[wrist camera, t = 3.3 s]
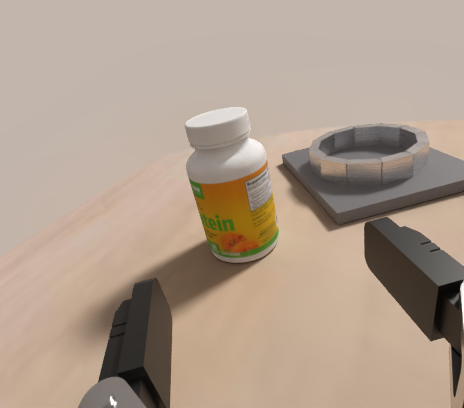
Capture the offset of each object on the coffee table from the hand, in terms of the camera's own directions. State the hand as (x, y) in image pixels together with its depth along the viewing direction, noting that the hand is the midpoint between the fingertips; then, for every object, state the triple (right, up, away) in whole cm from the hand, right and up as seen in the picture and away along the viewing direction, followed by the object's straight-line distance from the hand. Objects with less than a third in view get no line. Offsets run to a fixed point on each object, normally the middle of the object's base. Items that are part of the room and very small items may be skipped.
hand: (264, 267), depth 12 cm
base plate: (+11, +5, +18) cm, 22 cm away
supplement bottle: (0, -1, +12) cm, 12 cm away
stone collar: (+11, +5, +18) cm, 22 cm away
